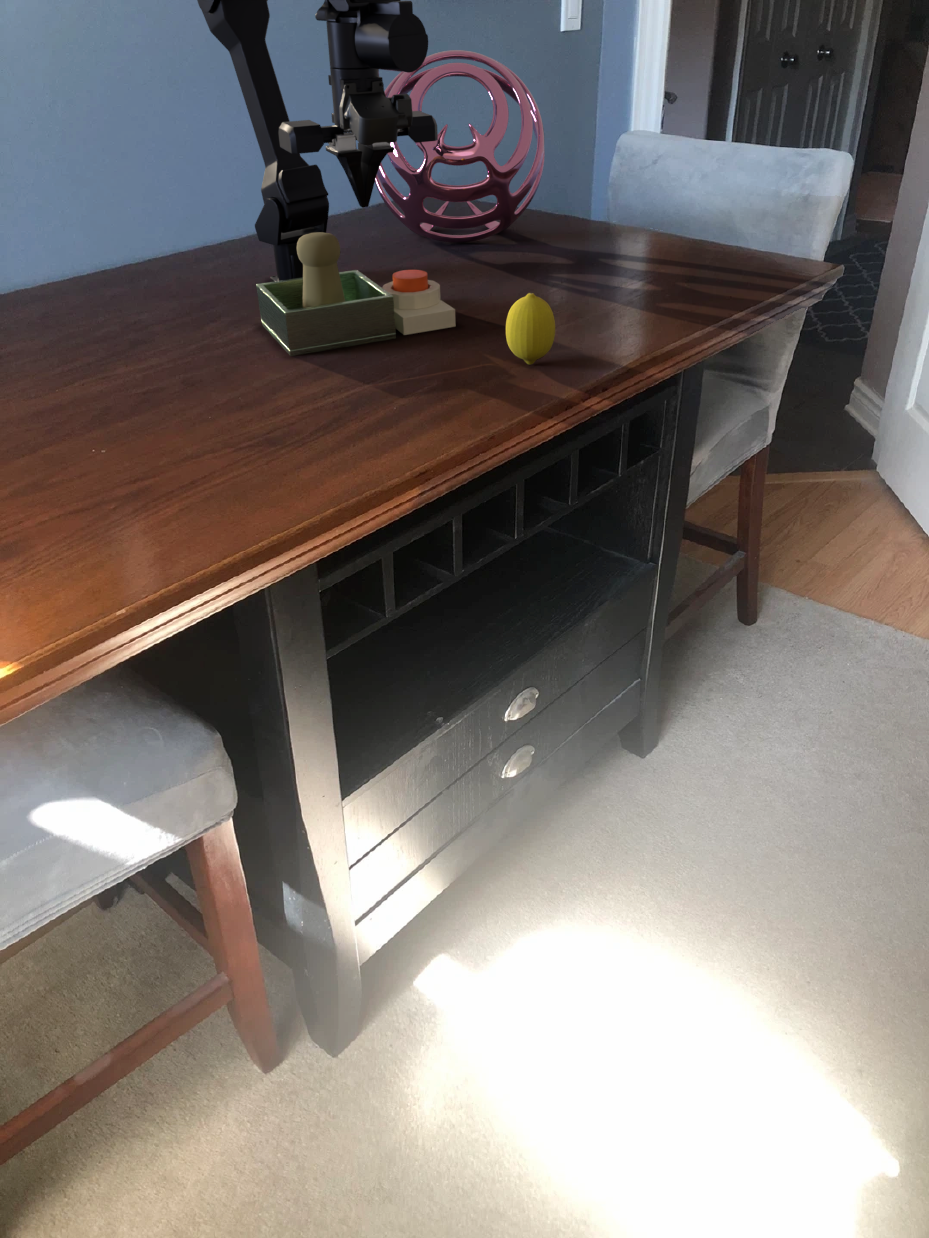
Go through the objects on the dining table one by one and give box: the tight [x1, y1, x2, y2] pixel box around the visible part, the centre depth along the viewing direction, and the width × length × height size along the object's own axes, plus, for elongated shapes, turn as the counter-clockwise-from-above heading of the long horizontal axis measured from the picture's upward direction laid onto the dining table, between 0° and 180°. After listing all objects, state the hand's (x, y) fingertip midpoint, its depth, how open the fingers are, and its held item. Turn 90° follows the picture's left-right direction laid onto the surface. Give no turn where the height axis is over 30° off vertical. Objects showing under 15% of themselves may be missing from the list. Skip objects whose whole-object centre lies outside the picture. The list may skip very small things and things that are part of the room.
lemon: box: [505, 292, 556, 365], centre depth 110 cm, size 6×6×8 cm
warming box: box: [255, 269, 397, 357], centre depth 123 cm, size 13×13×5 cm
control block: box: [381, 279, 456, 336], centre depth 127 cm, size 12×7×4 cm, turn 24°
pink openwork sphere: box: [374, 49, 546, 244], centre depth 157 cm, size 28×28×27 cm
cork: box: [297, 232, 345, 308], centre depth 121 cm, size 6×6×11 cm
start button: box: [392, 269, 429, 292], centre depth 125 cm, size 4×4×2 cm
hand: (364, 207), depth 125 cm, fingers closed
